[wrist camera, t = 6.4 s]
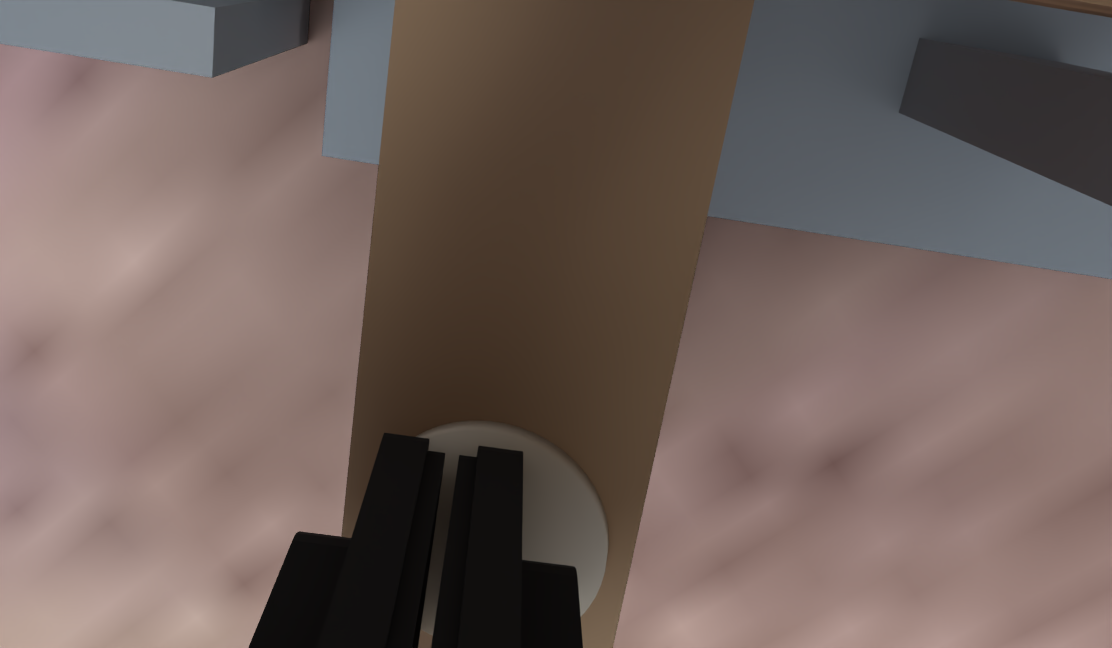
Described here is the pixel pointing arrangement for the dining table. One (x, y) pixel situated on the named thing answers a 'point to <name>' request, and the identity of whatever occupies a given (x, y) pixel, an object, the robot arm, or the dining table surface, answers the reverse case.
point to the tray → (159, 31)
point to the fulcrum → (875, 124)
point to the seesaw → (544, 255)
